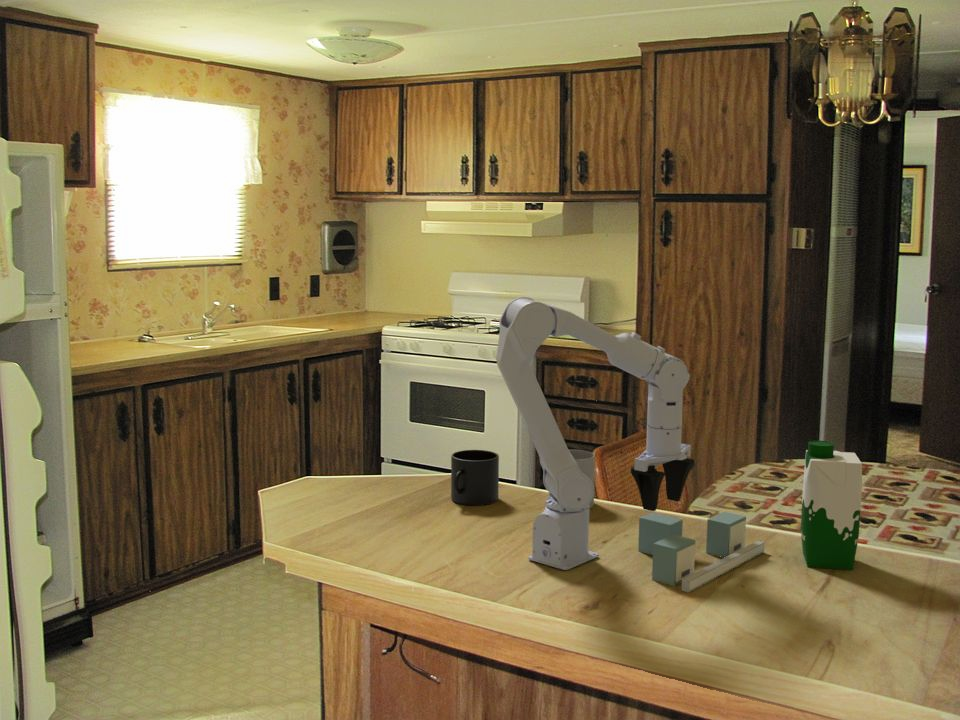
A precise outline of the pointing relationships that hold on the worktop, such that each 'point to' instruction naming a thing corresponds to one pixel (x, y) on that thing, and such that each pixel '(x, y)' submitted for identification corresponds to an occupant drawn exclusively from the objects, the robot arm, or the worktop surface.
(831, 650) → the worktop surface
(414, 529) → the worktop surface
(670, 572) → the tea box
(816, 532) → the milk carton
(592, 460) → the cup
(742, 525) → the tea box
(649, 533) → the tea box
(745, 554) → the rail
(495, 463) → the mug
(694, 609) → the worktop surface
